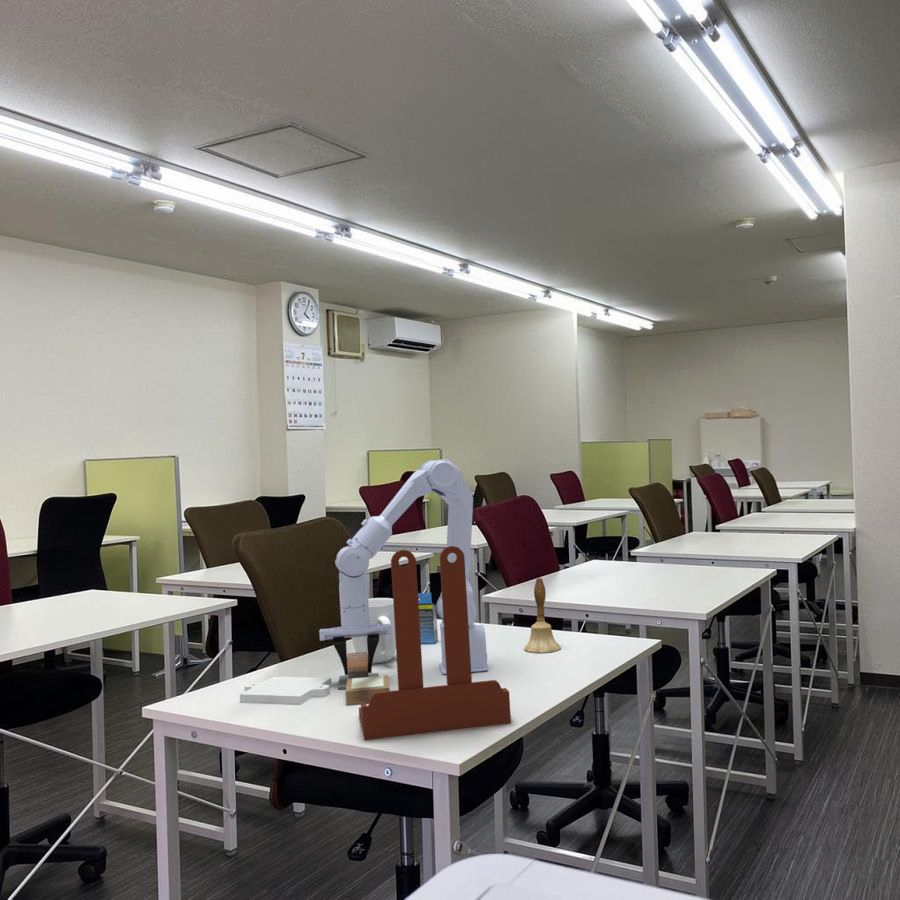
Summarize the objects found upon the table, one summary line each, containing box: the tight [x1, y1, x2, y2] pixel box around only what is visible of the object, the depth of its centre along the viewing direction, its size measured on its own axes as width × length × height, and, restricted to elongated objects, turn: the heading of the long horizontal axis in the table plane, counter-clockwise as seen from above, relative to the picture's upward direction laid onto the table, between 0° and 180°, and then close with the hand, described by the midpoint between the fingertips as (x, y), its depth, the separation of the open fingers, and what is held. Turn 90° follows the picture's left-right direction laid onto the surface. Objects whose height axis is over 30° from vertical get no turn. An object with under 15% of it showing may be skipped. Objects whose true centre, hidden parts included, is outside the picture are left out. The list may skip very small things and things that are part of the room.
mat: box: [337, 672, 380, 691], centre depth 172 cm, size 8×9×1 cm
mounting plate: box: [239, 676, 332, 706], centre depth 166 cm, size 18×13×2 cm
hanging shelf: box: [358, 546, 512, 741], centre depth 144 cm, size 24×13×30 cm, turn 100°
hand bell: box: [523, 577, 562, 654], centre depth 191 cm, size 8×8×16 cm
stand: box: [345, 675, 390, 706], centre depth 161 cm, size 8×9×3 cm
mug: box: [351, 597, 396, 665], centre depth 188 cm, size 15×11×13 cm
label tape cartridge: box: [418, 592, 439, 645], centre depth 206 cm, size 9×4×12 cm, turn 77°
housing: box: [347, 651, 369, 679], centre depth 172 cm, size 4×6×5 cm, turn 5°
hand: (358, 672), depth 172 cm, fingers closed on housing, 4 cm apart
